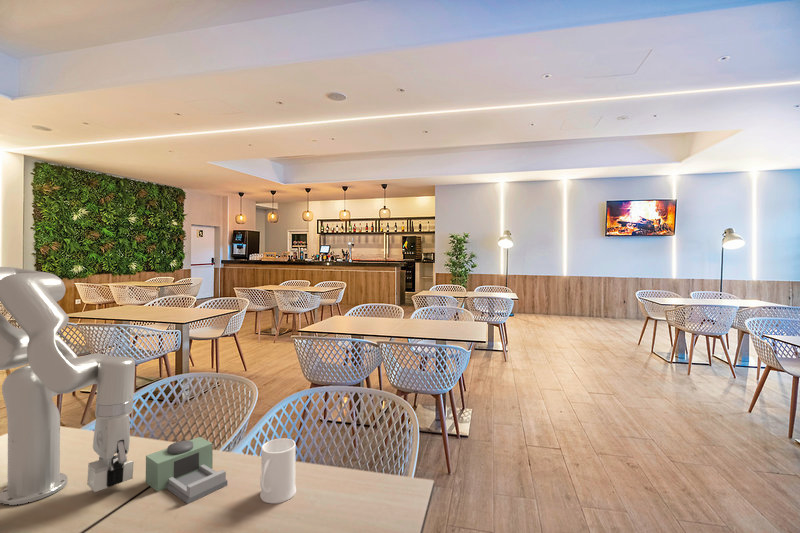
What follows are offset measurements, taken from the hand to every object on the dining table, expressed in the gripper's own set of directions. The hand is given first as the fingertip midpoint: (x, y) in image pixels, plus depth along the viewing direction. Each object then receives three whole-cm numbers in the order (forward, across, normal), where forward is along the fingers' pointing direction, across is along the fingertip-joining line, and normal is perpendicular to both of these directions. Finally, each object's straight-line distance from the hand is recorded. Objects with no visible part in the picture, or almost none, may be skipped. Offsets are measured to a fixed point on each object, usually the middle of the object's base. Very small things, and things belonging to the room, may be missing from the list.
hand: (110, 479), depth 97 cm
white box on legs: (+1, 0, 0) cm, 1 cm away
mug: (+1, +35, +23) cm, 42 cm away
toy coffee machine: (+2, +12, +14) cm, 18 cm away
